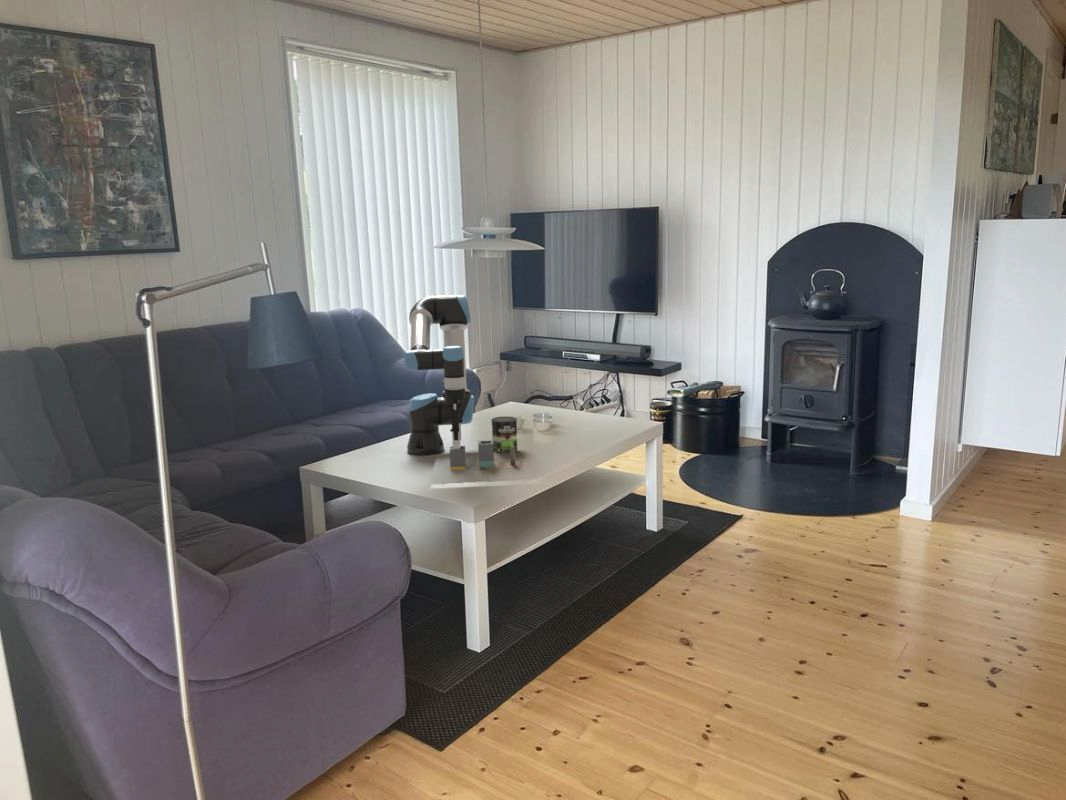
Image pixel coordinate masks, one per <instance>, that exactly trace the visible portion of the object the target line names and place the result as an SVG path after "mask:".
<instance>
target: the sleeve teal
mask: <svg viewBox="0 0 1066 800" xmlns="http://www.w3.org/2000/svg"><path fill="white" fill-rule="evenodd" d="M477 442H478V444H477V447H478V462H479V468H487V467H494V462H495V452H494V448H493V440H492V439H490V440H478V441H477Z"/></svg>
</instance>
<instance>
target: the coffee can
mask: <svg viewBox="0 0 1066 800" xmlns="http://www.w3.org/2000/svg"><path fill="white" fill-rule="evenodd" d="M490 420H491V434H492V435H491V436H492V437H491V438H492V439H491V440H493V448H494V453H510V446H515V452H517V451H518V430H517V429H518V425H517V421H518V420H517V417H515V416H496V417H493V418H491V419H490Z"/></svg>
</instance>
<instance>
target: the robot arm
mask: <svg viewBox="0 0 1066 800" xmlns="http://www.w3.org/2000/svg"><path fill="white" fill-rule="evenodd" d="M469 306H470V305H469V302H468V298H467V296H465V295H463V294H458V295H457V294H452V295H451V294H449V295H447V294H446V295H429V296H425V297H423V298H421V299H420V300H418V301H417V302H416V303H415V304H414V305H413V306H412V307H411V309H410V312H409V315H408V320H409V324H410V326H411V327H410V350H406V351H404V354H403V355H404V357H403V358H404V367H405V368H404V369H406V370H407V371H431V370H433V371H434V370H443V379H442V383H443V384H444V390H443V391H442V396H438V394H437V393H431V392H429V393H424V394H419V395H416V396H413V397H412V398H410V399H409V402H408V405H409V406H408V412H409V424H410V425H409V426H410V428H409V429H410V435H409V439H408V441H407V446H406V448H407V449H406V451H407V453H409V454H411V455H417V456H422V455H423V456H425V455H427V456H428V455H435V454H439V453H441V452H443V451H444V450H445V444H444V442H443V439H442V436H441V434H440V427H439V426H451V428H450V430H449V431H450V432H452V433H451V435H452V436H451V437H452V446H453V449H460V446H461V441H462V425H467V424H471V423H472V421H473V415H474V405H475V404H474V403H475V396H474V395H472V394H471V393H472V392H471V390H470V389H468V387H467V386H468V385H467V367H466V345H465V330H467V328H468V324H469V323H471V314H470V308H469ZM434 324H435V325H438V324H439V329H440V330H441V331H442V332H443V346H444V347H443V348H442V349H431V326H432V325H434Z"/></svg>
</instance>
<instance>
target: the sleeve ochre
mask: <svg viewBox="0 0 1066 800" xmlns="http://www.w3.org/2000/svg"><path fill="white" fill-rule="evenodd" d="M466 455H467V454H466V445H460V449H453V445H452V446H449V462H450V463H449V464H450V467H449V468H450V471H451V470H452V471H454V470H466V468H467V461H466V460H467V458H466V457H467V456H466Z"/></svg>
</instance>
